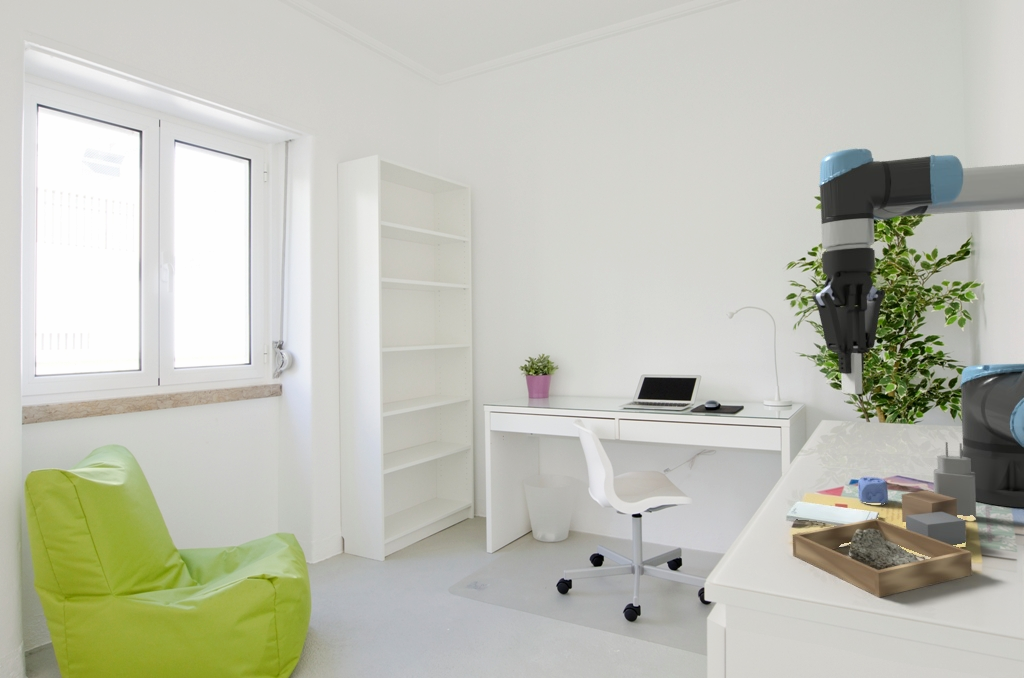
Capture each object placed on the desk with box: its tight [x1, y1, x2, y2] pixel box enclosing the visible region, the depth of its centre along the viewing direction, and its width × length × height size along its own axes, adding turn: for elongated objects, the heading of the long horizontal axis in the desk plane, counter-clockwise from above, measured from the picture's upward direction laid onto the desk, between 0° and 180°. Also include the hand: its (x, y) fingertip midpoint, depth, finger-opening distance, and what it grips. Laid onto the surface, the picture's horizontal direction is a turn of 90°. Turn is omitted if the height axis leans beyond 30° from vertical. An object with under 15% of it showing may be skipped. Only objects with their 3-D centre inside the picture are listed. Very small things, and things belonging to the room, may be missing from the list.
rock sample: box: [846, 528, 921, 570], centre depth 82 cm, size 10×8×9 cm
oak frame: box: [792, 518, 973, 598], centre depth 84 cm, size 15×14×3 cm
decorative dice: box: [857, 476, 889, 504], centre depth 109 cm, size 4×4×4 cm
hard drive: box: [785, 501, 880, 526], centre depth 102 cm, size 2×8×12 cm
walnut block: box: [901, 489, 957, 522], centre depth 96 cm, size 5×5×5 cm
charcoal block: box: [905, 512, 967, 545], centre depth 90 cm, size 6×4×4 cm, turn 98°
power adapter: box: [933, 441, 977, 519], centre depth 100 cm, size 3×5×12 cm, turn 53°
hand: (852, 392), depth 102 cm, fingers closed
